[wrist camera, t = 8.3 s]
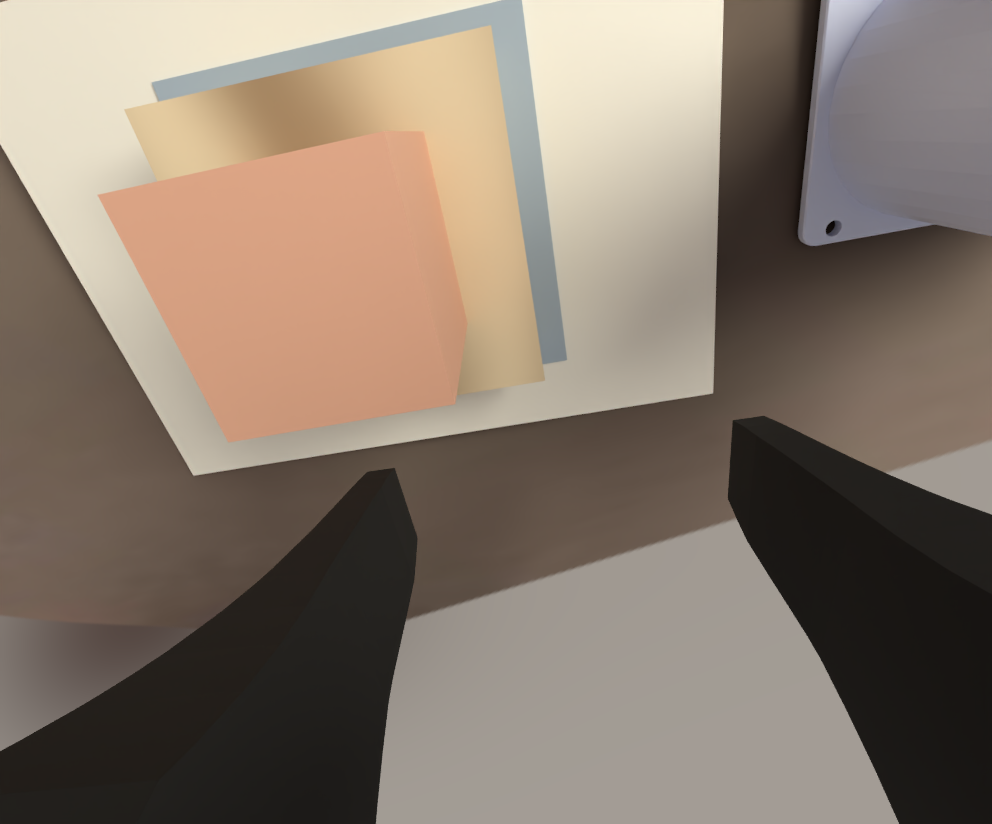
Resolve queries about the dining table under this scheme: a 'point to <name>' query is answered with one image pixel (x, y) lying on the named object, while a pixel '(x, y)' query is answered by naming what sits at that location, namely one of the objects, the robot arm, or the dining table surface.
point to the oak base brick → (390, 107)
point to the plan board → (535, 159)
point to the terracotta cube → (304, 283)
